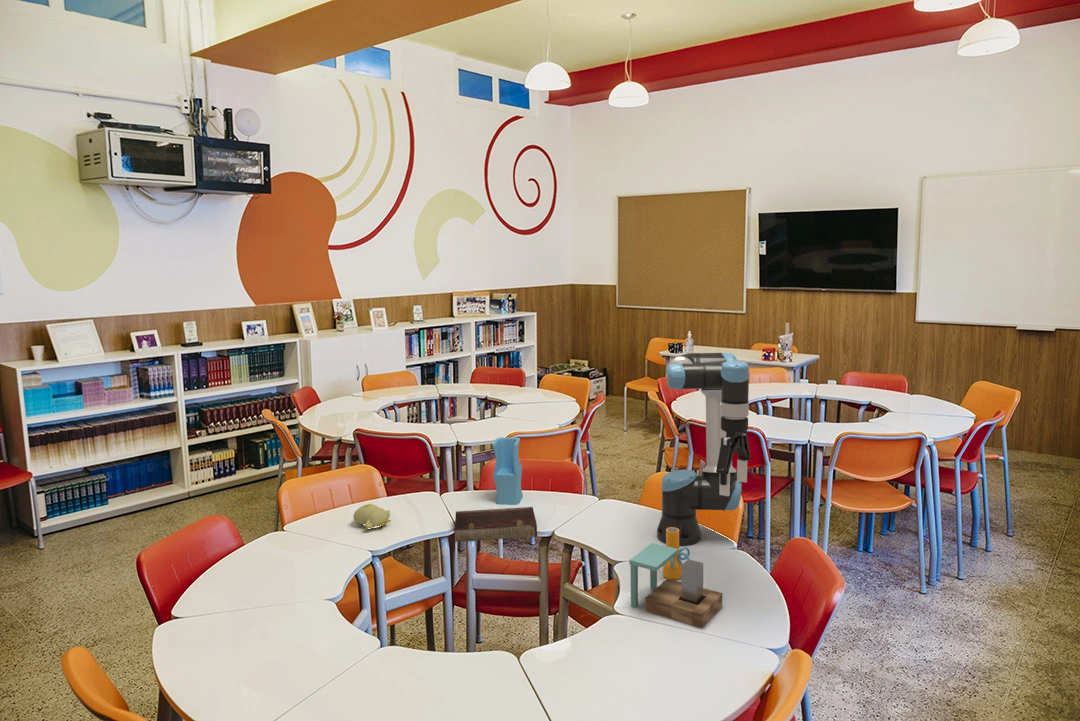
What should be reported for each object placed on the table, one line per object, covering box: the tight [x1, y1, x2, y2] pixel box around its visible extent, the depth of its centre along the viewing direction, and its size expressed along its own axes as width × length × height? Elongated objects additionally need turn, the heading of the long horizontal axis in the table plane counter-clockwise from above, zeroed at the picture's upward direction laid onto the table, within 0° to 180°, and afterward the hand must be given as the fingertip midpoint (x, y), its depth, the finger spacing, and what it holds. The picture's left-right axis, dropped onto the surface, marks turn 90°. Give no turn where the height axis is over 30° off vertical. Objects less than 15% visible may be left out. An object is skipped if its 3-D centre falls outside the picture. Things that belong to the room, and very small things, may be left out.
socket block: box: [644, 578, 723, 629], centre depth 204 cm, size 14×17×4 cm
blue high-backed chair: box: [491, 436, 524, 506], centre depth 292 cm, size 10×10×25 cm
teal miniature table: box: [628, 542, 678, 608], centre depth 208 cm, size 14×8×14 cm, turn 144°
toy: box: [352, 503, 392, 530], centre depth 271 cm, size 15×9×15 cm
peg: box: [680, 558, 704, 605], centre depth 201 cm, size 4×4×14 cm
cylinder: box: [662, 527, 691, 581], centre depth 223 cm, size 12×10×15 cm
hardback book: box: [454, 506, 538, 543], centre depth 265 cm, size 29×19×5 cm, turn 95°
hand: (733, 488), depth 208 cm, fingers open, 13 cm apart
